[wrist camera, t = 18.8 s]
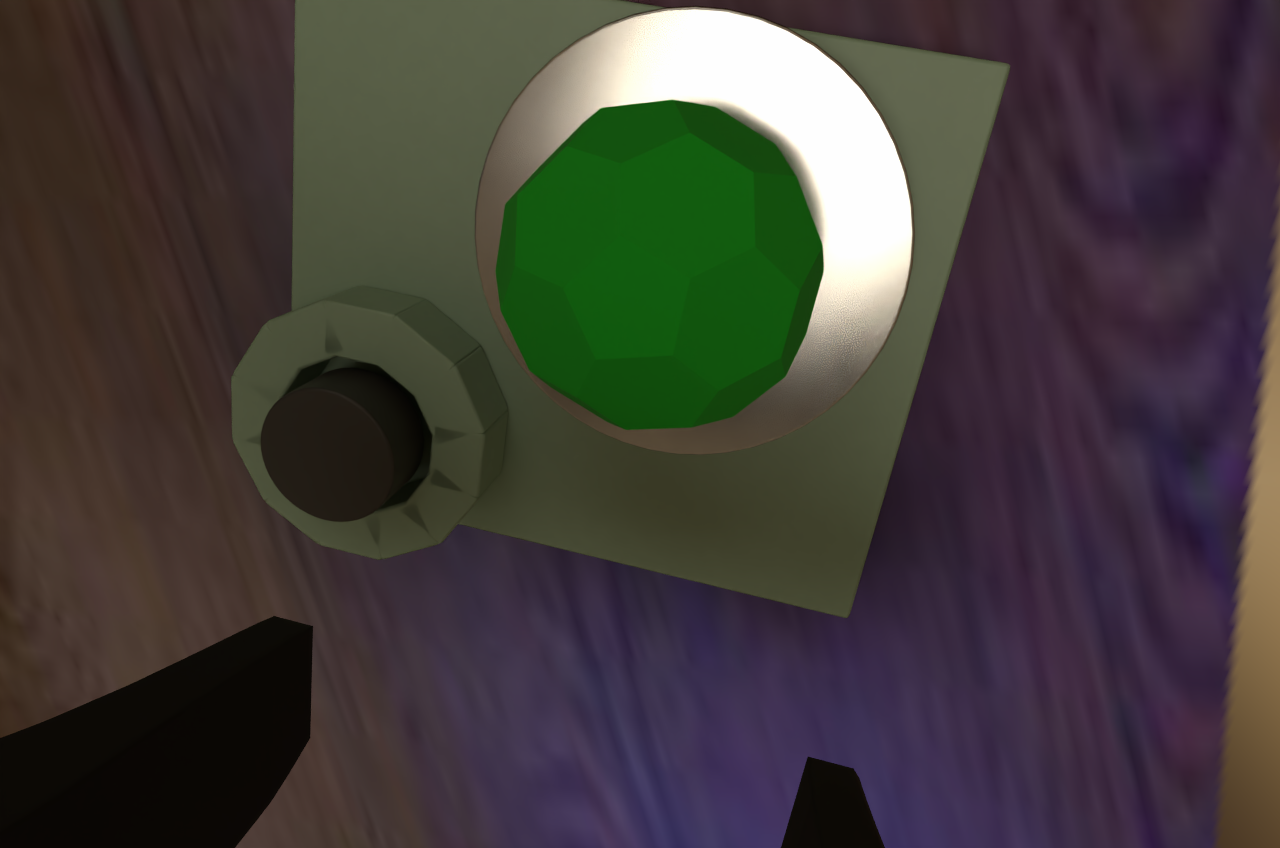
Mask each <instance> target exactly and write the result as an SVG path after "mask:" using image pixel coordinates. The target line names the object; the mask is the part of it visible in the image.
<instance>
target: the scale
mask: <svg viewBox="0 0 1280 848" xmlns="http://www.w3.org/2000/svg"><path fill="white" fill-rule="evenodd" d="M661 8H666V7H659V6H653V5H647V4H641V3H635V2H629V1H623V0H295V58H294V144H293V230H292V311H291V312H288V313H286V314H283V315H281V316H278V317H276V318H273V319H271V320H269V321H268V322H267V323H266V324H264V325H263V327H262V328H261V330H260V331H259V333H258V334H257V336H256V338H255V339H254V341H253V342H252V344H251V346H250V347H249V349H248V350H247V352H246V354H245V355H244V357H243V358H242V360H241V361H240V363H239V365H238V366H237V368H236V369H235V371H234V374H233V375H232V377H231V393H232V439H233V440H234V441H233V442H234V445H235V446H236V448H237V450H238V452H239V454H240V456H241V458H242V460H243V462H244V464H245V466H246V468H247V469H248V471H249V473H250V475H251V477H252V479H253V481H254V483H255V485H256V487H257V489H258V490H259V492H260V494H261V496H262V498H263V499H264V500H266V501H265V502H266V503H267V504H268V505H269V506H271V507H272V508H273V509H274V510H276V511H277V512H278V513H279V514H281V515H282V516H283V517H284V518H286V519H287V520H288V521H289V522H291V523H292V524H293V525H294V526H296V527H297V528H298V529H299V530H301V531H302V532H303V533H304V534H306V535H307V536H308V537H309V538H311V539H312V540H313V541H314V542H316V543H319V545H322V546H326V547H330V548H334V549H338V550H342V551H346V552H350V553H354V554H358V555H362V556H366V557H370V558H374V559H378V560H381V559H386V558H390V557H394V556H397V555H401V554H405V553H408V552H412V551H416V550H419V549H423V548H427V547H430V546H434V545H438V544H439V543H442V542H443V541H444V540H445V539H446V537H447V536H448V535H449V534H450V533H451V532H452V530H453V529H454V528H455V527H456V526H457V525H458V524H461V525H465V526H469V527H473V528H477V529H482V530H486V531H490V532H494V533H498V534H502V535H506V536H510V537H514V538H519V539H523V540H527V541H531V542H535V543H539V544H543V545H547V546H551V547H556V548H560V549H564V550H568V551H572V552H576V553H580V554H584V555H589V556H593V557H597V558H601V559H605V560H609V561H613V562H617V563H621V564H626V565H630V566H634V567H638V568H642V569H646V570H650V571H654V572H658V573H663V574H667V575H671V576H675V577H679V578H683V579H687V580H691V581H696V582H700V583H704V584H708V585H712V586H716V587H720V588H724V589H728V590H733V591H737V592H741V593H745V594H749V595H753V596H757V597H761V598H765V599H770V600H774V601H778V602H782V603H786V604H790V605H794V606H798V607H802V608H807V609H811V610H815V611H819V612H823V613H827V614H831V615H835V616H840V617H844V618H848V616H849V615H850V612H851V608H852V605H853V601H854V598H855V595H856V591H857V588H858V584H859V581H860V578H861V574H862V571H863V567H864V564H865V561H866V557H867V554H868V550H869V547H870V544H871V540H872V537H873V533H874V530H875V527H876V523H877V520H878V516H879V513H880V510H881V506H882V503H883V499H884V496H885V493H886V489H887V486H888V482H889V479H890V476H891V472H892V469H893V465H894V462H895V459H896V455H897V452H898V448H899V445H900V442H901V438H902V435H903V431H904V428H905V425H906V421H907V418H908V414H909V411H910V408H911V404H912V401H913V397H914V394H915V391H916V387H917V384H918V380H919V377H920V374H921V370H922V367H923V363H924V360H925V357H926V353H927V350H928V346H929V343H930V340H931V336H932V333H933V329H934V326H935V323H936V319H937V316H938V312H939V309H940V306H941V302H942V299H943V295H944V292H945V289H946V285H947V282H948V278H949V275H950V272H951V268H952V265H953V261H954V258H955V255H956V251H957V248H958V244H959V241H960V238H961V234H962V231H963V227H964V224H965V221H966V217H967V214H968V210H969V207H970V204H971V200H972V197H973V193H974V190H975V187H976V183H977V180H978V176H979V173H980V170H981V166H982V163H983V159H984V156H985V153H986V149H987V146H988V142H989V139H990V136H991V132H992V129H993V125H994V122H995V119H996V115H997V112H998V108H999V105H1000V102H1001V98H1002V95H1003V91H1004V88H1005V85H1006V81H1007V78H1008V74H1009V71H1010V65H1008V64H1007V63H1002V62H996V61H990V60H984V59H978V58H971V57H965V56H959V55H953V54H947V53H941V52H935V51H929V50H922V49H916V48H910V47H904V46H898V45H892V44H886V43H880V42H874V41H867V40H861V39H855V38H849V37H843V36H837V35H831V34H825V33H818V32H812V31H806V30H800V29H794V28H789V29H791V30H793V31H794V32H796V33H798V34H800V35H801V36H803V37H805V38H807V39H808V40H810V41H812V42H814V43H815V44H817V45H818V46H819V47H820V48H822V49H823V50H824V51H826V52H827V53H828V54H829V55H831V56H832V57H833V58H834V59H836V60H837V61H838V62H839V63H841V64H842V65H843V66H844V67H845V68H846V69H847V71H848V72H849V73H850V74H851V75H852V76H853V77H854V78H855V79H856V80H857V81H858V82H859V83H860V84H861V85H862V86H863V88H864V89H865V90H866V92H867V93H868V95H869V96H870V97H871V99H872V100H873V102H874V103H875V104H876V106H877V107H878V109H879V110H880V111H881V113H882V115H883V117H884V119H885V120H886V122H887V124H888V126H889V128H890V130H891V132H892V134H893V136H894V138H895V140H896V142H897V145H898V148H899V150H900V153H901V156H902V159H903V162H904V165H905V167H906V170H907V174H908V179H909V184H910V189H911V194H912V199H913V207H914V223H915V243H914V257H913V266H912V271H911V276H910V281H909V285H908V290H907V294H906V297H905V300H904V303H903V306H902V309H901V312H900V314H899V317H898V320H897V322H896V324H895V326H894V328H893V330H892V332H891V334H890V336H889V338H888V340H887V342H886V344H885V346H884V348H883V349H882V351H881V352H880V354H879V355H878V357H877V358H876V360H875V361H874V363H873V364H872V366H871V367H870V368H869V370H868V371H867V373H866V374H865V375H864V376H863V377H862V378H861V379H860V380H859V381H858V383H857V384H856V385H855V386H854V387H853V388H852V389H851V390H850V392H849V393H848V394H846V395H845V396H844V397H843V398H842V399H841V400H839V401H838V402H837V403H836V404H835V405H834V406H832V407H831V408H830V409H829V410H828V411H827V412H825V413H823V414H822V415H820V416H819V417H817V418H816V419H814V420H813V421H811V422H810V423H808V424H807V425H805V426H804V427H802V428H800V429H798V430H796V431H794V432H792V433H789V434H787V435H785V436H783V437H781V438H779V439H776V440H773V441H770V442H768V443H765V444H762V445H759V446H756V447H752V448H748V449H743V450H738V451H733V452H729V453H718V454H706V455H692V454H673V453H667V452H661V451H655V450H649V449H645V448H642V447H638V446H635V445H631V444H628V443H624V442H622V441H619V440H617V439H615V438H612V437H610V436H608V435H605V434H603V433H601V432H599V431H597V430H595V429H593V428H592V427H590V426H588V425H586V424H585V423H583V422H581V421H579V420H578V419H576V418H575V417H573V416H572V415H571V414H569V413H568V412H567V411H565V410H564V409H563V408H561V407H560V406H559V405H557V404H556V403H555V402H554V401H553V400H552V399H550V398H549V397H548V396H547V395H546V394H545V393H544V392H543V391H542V390H541V389H540V388H539V387H538V386H537V385H536V384H535V383H534V382H533V381H532V379H531V378H530V377H529V376H528V375H527V373H526V372H525V371H524V370H523V369H522V367H521V366H520V365H519V364H518V362H517V361H516V359H515V357H514V356H513V354H512V353H511V351H510V350H509V348H508V347H507V345H506V344H505V342H504V340H503V338H502V336H501V334H500V332H499V330H498V328H497V326H496V324H495V322H494V320H493V318H492V315H491V312H490V309H489V307H488V304H487V301H486V298H485V295H484V292H483V288H482V284H481V279H480V275H479V270H478V266H477V257H476V247H475V207H476V200H477V193H478V187H479V180H480V177H481V173H482V170H483V166H484V163H485V159H486V156H487V152H488V150H489V147H490V145H491V143H492V140H493V138H494V136H495V133H496V131H497V129H498V126H499V125H500V123H501V121H502V120H503V118H504V116H505V115H506V113H507V111H508V109H509V108H510V106H511V104H512V103H513V101H514V100H515V98H516V97H517V96H518V95H519V93H520V92H521V91H522V90H523V88H524V87H525V86H526V84H527V83H528V82H529V81H530V79H531V78H532V77H533V76H534V75H535V74H536V73H537V72H538V71H539V70H540V69H541V68H542V67H543V66H544V65H545V64H546V63H548V62H549V61H550V60H551V59H552V58H553V57H554V56H555V55H556V54H558V53H559V52H561V51H562V50H563V49H565V48H566V47H568V46H569V45H570V44H572V43H573V42H574V41H576V40H577V39H579V38H580V37H582V36H584V35H586V34H588V33H590V32H592V31H594V30H596V29H597V28H599V27H601V26H603V25H605V24H608V23H610V22H613V21H616V20H619V19H621V18H624V17H627V16H630V15H633V14H636V13H641V12H646V11H651V10H656V9H661ZM787 28H788V27H787ZM338 368H359V369H365V370H368V371H372V372H374V373H377V374H379V375H381V376H383V377H385V378H386V379H388V380H389V381H391V382H392V383H394V384H395V385H396V386H397V387H398V388H399V389H400V390H401V391H403V393H404V394H405V395H406V396H407V397H408V398H409V400H410V401H411V403H412V404H413V406H414V408H415V410H416V412H417V413H418V416H419V418H420V421H421V425H422V429H423V435H424V449H423V456H422V459H421V463H420V465H419V467H418V469H417V471H416V472H415V474H414V475H413V476H412V478H411V479H410V480H409V481H408V482H407V483H406V484H405V485H404V486H402V487H401V488H400V489H399V490H398V491H397V492H396V493H395V494H394V495H393V496H392V497H391V498H389V499H388V500H387V501H386V502H385V503H384V504H383V505H382V506H381V507H380V508H379V509H377V510H376V511H375V512H374V513H372V514H370V515H368V516H367V517H364V518H361V519H359V520H354V521H347V522H334V521H328V520H323V519H320V518H317V517H314V516H312V515H310V514H307V513H306V512H304V511H302V510H300V509H299V508H298V507H296V506H295V505H293V504H292V503H291V502H290V501H289V500H288V499H287V498H285V496H284V495H283V494H282V493H281V492H280V491H279V490H278V488H277V487H276V486H275V484H274V483H273V481H272V479H271V478H270V476H269V474H268V472H267V469H266V467H265V464H264V461H263V457H262V452H261V431H262V426H263V423H264V420H265V418H266V416H267V414H268V412H269V410H270V409H271V407H272V406H273V405H274V404H275V403H276V402H277V401H278V400H279V399H280V398H281V397H283V396H284V395H286V394H288V393H289V392H291V391H293V390H295V389H297V388H298V387H300V386H302V385H304V384H306V383H307V382H309V381H311V380H313V379H315V378H316V377H318V376H320V375H322V374H324V373H326V372H328V371H331V370H334V369H338Z"/></svg>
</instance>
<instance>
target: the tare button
mask: <svg viewBox="0 0 1280 848" xmlns="http://www.w3.org/2000/svg"><path fill="white" fill-rule="evenodd" d="M423 449H424V435H423V429H422V425H421V421H420V418H419V416H418V413H417V412H416V410H415V408H414V406H413V404H412V403H411V401H410V400H409V398H408V397H407V396H406V395H405V394H404V393H403V391H401V390H400V389H399V388H398V387H397V386H396V385H395V384H394V383H392V382H391V381H389V380H388V379H386V378H385V377H383V376H381V375H379V374H377V373H374V372H372V371H368V370H365V369H359V368H338V369H334V370H331V371H328V372H326V373H324V374H322V375H320V376H318V377H316V378H315V379H313V380H311V381H309V382H307V383H306V384H304V385H302V386H300V387H298V388H297V389H295V390H293V391H291V392H289V393H288V394H286V395H284V396H283V397H281V398H280V399H279V400H278V401H277V402H276V403H275V404H274V405H273V406H272V407H271V409H270V410H269V412H268V414H267V416H266V418H265V420H264V423H263V426H262V431H261V452H262V457H263V461H264V464H265V467H266V469H267V472H268V474H269V476H270V478H271V479H272V481H273V483H274V484H275V486H276V487H277V488H278V490H279V491H280V492H281V493H282V494H283V495H284V496H285V498H287V499H288V500H289V501H290V502H291V503H292V504H293V505H295V506H296V507H298V508H299V509H300V510H302V511H304V512H306V513H307V514H310V515H312V516H314V517H317V518H320V519H323V520H328V521H334V522H347V521H354V520H359V519H361V518H364V517H367V516H368V515H370V514H372V513H374V512H375V511H376V510H377V509H379V508H380V507H381V506H382V505H383V504H384V503H385V502H386V501H387V500H388V499H389V498H391V497H392V496H393V495H394V494H395V493H396V492H397V491H398V490H399V489H400V488H401V487H402V486H404V485H405V484H406V483H407V482H408V481H409V480H410V479H411V478H412V476H413V475H414V474H415V472H416V471H417V469H418V467H419V465H420V463H421V459H422V456H423Z"/></svg>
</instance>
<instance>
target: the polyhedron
mask: <svg viewBox="0 0 1280 848" xmlns="http://www.w3.org/2000/svg"><path fill="white" fill-rule="evenodd" d="M495 272H496V280H497V287H498V295H499V303H500V311H501V313H502V315H503V317H504V319H505V321H506V323H507V325H508V327H509V329H510V331H511V333H512V336H513V338H514V340H515V342H516V344H517V346H518V348H519V350H520V352H521V354H522V356H523V358H524V360H525V362H526V365H527V367H528V369H529V371H530V372H532V373H533V374H534V375H535V376H537V377H538V378H539V379H541V380H542V381H543V382H545V383H546V384H547V385H548V386H550V387H551V388H552V389H554V390H556V391H557V392H559V393H561V394H562V395H564V396H565V397H567V398H569V399H570V400H572V401H574V402H575V403H577V404H579V405H580V406H582V407H583V408H585V409H587V410H588V411H590V412H592V413H593V414H595V415H596V416H598V417H600V418H601V419H603V420H605V421H606V422H608V423H611V424H613V425H615V426H618V427H620V428H622V429H625V430H640V429H669V428H692V427H696V426H700V425H704V424H708V423H712V422H716V421H720V420H723V419H727V418H731V417H734V416H735V415H736V414H738V413H739V412H740V411H742V410H743V409H744V408H746V407H747V406H748V405H749V404H751V403H752V402H753V401H755V400H756V399H757V398H759V397H760V396H761V395H763V394H764V393H765V392H766V391H768V390H769V389H770V388H772V387H773V386H774V385H776V384H777V383H778V382H780V381H781V380H782V379H783V378H785V377H786V375H787V373H788V371H789V369H790V367H791V365H792V363H793V361H794V358H795V356H796V354H797V352H798V350H799V348H800V346H801V344H802V342H803V340H804V338H805V336H806V333H807V329H808V326H809V322H810V319H811V315H812V312H813V308H814V305H815V301H816V298H817V294H818V291H819V287H820V284H821V280H822V277H823V273H824V258H823V245H822V242H821V239H820V237H819V234H818V231H817V229H816V226H815V223H814V221H813V218H812V215H811V213H810V210H809V208H808V205H807V202H806V200H805V197H804V194H803V192H802V189H801V186H800V184H799V181H798V178H797V176H796V174H795V173H794V171H793V170H792V168H791V167H790V165H789V164H788V162H787V161H786V159H785V157H784V156H783V154H782V153H781V151H780V150H779V148H778V147H777V145H776V144H775V143H773V142H772V141H770V140H768V139H767V138H765V137H763V136H762V135H760V134H759V133H757V132H755V131H754V130H752V129H751V128H749V127H747V126H746V125H744V124H743V123H741V122H739V121H738V120H736V119H735V118H733V117H731V116H730V115H728V114H727V113H725V112H723V111H722V110H720V109H718V108H717V107H714V106H708V105H702V104H697V103H691V102H685V101H679V100H674V99H672V100H664V101H655V102H647V103H638V104H630V105H621V106H613V107H604V108H600V109H599V110H598V111H597V112H595V113H594V114H593V115H592V116H590V117H589V118H588V119H587V120H586V121H584V122H583V123H582V124H581V125H580V126H579V127H578V128H577V129H576V130H575V131H574V132H573V133H572V134H571V135H570V136H569V137H568V138H567V139H566V140H565V141H564V142H563V143H562V144H561V145H560V146H559V147H558V148H557V149H556V150H555V151H554V152H553V153H552V154H551V155H550V156H549V157H548V158H547V159H546V160H545V161H544V162H543V163H542V164H541V165H540V166H539V167H538V168H537V170H536V171H535V172H534V173H533V174H532V175H531V176H530V177H529V178H528V179H527V180H526V182H525V183H524V184H523V185H522V186H521V187H520V188H519V189H518V190H517V191H516V193H515V194H514V195H513V196H512V197H511V198H510V199H509V200H508V201H507V202H506V204H505V208H504V215H503V222H502V229H501V236H500V243H499V250H498V256H497V263H496V270H495Z"/></svg>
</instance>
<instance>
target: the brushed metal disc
mask: <svg viewBox="0 0 1280 848" xmlns="http://www.w3.org/2000/svg"><path fill="white" fill-rule="evenodd" d="M672 99H674V100H679V101H685V102H691V103H697V104H702V105H708V106H714V107H717V108H718V109H720V110H722V111H723V112H725V113H727V114H728V115H730V116H731V117H733V118H735V119H736V120H738V121H739V122H741V123H743V124H744V125H746V126H747V127H749V128H751V129H752V130H754V131H755V132H757V133H759V134H760V135H762V136H763V137H765V138H767V139H768V140H770V141H772V142H773V143H775V144H776V145H777V147H778V148H779V150H780V151H781V153H782V154H783V156H784V157H785V159H786V161H787V162H788V164H789V165H790V167H791V168H792V170H793V171H794V173H795V174H796V176H797V178H798V181H799V184H800V186H801V189H802V192H803V194H804V197H805V200H806V202H807V205H808V208H809V210H810V213H811V215H812V218H813V221H814V223H815V226H816V229H817V231H818V234H819V237H820V239H821V242H822V245H823V258H824V273H823V277H822V280H821V284H820V287H819V291H818V294H817V298H816V301H815V305H814V308H813V312H812V315H811V319H810V322H809V326H808V329H807V333H806V336H805V338H804V340H803V342H802V344H801V346H800V348H799V350H798V352H797V354H796V356H795V358H794V361H793V363H792V365H791V367H790V369H789V371H788V373H787V375H786V377H785V378H783V379H782V380H781V381H780V382H778V383H777V384H776V385H774V386H773V387H772V388H770V389H769V390H768V391H766V392H765V393H764V394H763V395H761V396H760V397H759V398H757V399H756V400H755V401H753V402H752V403H751V404H749V405H748V406H747V407H746V408H744V409H743V410H742V411H740V412H739V413H738V414H736V415H735V416H734V417H731V418H727V419H723V420H720V421H716V422H712V423H708V424H704V425H700V426H696V427H692V428H669V429H640V430H625V429H622V428H620V427H618V426H615V425H613V424H611V423H608V422H606V421H605V420H603V419H601V418H600V417H598V416H596V415H595V414H593V413H592V412H590V411H588V410H587V409H585V408H583V407H582V406H580V405H579V404H577V403H575V402H574V401H572V400H570V399H569V398H567V397H565V396H564V395H562V394H561V393H559V392H557V391H556V390H554V389H552V388H551V387H550V386H548V385H547V384H546V383H545V382H543V381H542V380H541V379H539V378H538V377H537V376H535V375H534V374H533V373H532V372H530V371H529V369H528V367H527V365H526V362H525V360H524V358H523V356H522V354H521V352H520V350H519V348H518V346H517V344H516V342H515V340H514V338H513V336H512V333H511V331H510V329H509V327H508V325H507V323H506V321H505V319H504V317H503V315H502V313H501V311H500V303H499V295H498V287H497V280H496V272H495V270H496V263H497V256H498V250H499V243H500V236H501V229H502V222H503V215H504V208H505V204H506V202H507V201H508V200H509V199H510V198H511V197H512V196H513V195H514V194H515V193H516V191H517V190H518V189H519V188H520V187H521V186H522V185H523V184H524V183H525V182H526V180H527V179H528V178H529V177H530V176H531V175H532V174H533V173H534V172H535V171H536V170H537V168H538V167H539V166H540V165H541V164H542V163H543V162H544V161H545V160H546V159H547V158H548V157H549V156H550V155H551V154H552V153H553V152H554V151H555V150H556V149H557V148H558V147H559V146H560V145H561V144H562V143H563V142H564V141H565V140H566V139H567V138H568V137H569V136H570V135H571V134H572V133H573V132H574V131H575V130H576V129H577V128H578V127H579V126H580V125H581V124H582V123H583V122H584V121H586V120H587V119H588V118H589V117H590V116H592V115H593V114H594V113H595V112H597V111H598V110H599V109H600V108H604V107H613V106H621V105H630V104H638V103H647V102H655V101H664V100H672ZM914 243H915V223H914V207H913V199H912V194H911V189H910V184H909V179H908V174H907V170H906V167H905V165H904V162H903V159H902V156H901V153H900V150H899V148H898V145H897V142H896V140H895V138H894V136H893V134H892V132H891V130H890V128H889V126H888V124H887V122H886V120H885V119H884V117H883V115H882V113H881V111H880V110H879V109H878V107H877V106H876V104H875V103H874V102H873V100H872V99H871V97H870V96H869V95H868V93H867V92H866V90H865V89H864V88H863V86H862V85H861V84H860V83H859V82H858V81H857V80H856V79H855V78H854V77H853V76H852V75H851V74H850V73H849V72H848V71H847V69H846V68H845V67H844V66H843V65H842V64H841V63H839V62H838V61H837V60H836V59H834V58H833V57H832V56H831V55H829V54H828V53H827V52H826V51H824V50H823V49H822V48H820V47H819V46H818V45H817V44H815V43H814V42H812V41H810V40H808V39H807V38H805V37H803V36H801V35H800V34H798V33H796V32H794V31H793V30H791V29H789V28H787V27H785V26H782V25H780V24H777V23H775V22H772V21H770V20H767V19H765V18H762V17H760V16H756V15H752V14H748V13H744V12H740V11H735V10H731V9H726V8H715V7H704V6H685V7H667V8H661V9H656V10H651V11H646V12H641V13H636V14H633V15H630V16H627V17H624V18H621V19H619V20H616V21H613V22H610V23H608V24H605V25H603V26H601V27H599V28H597V29H596V30H594V31H592V32H590V33H588V34H586V35H584V36H582V37H580V38H579V39H577V40H576V41H574V42H573V43H572V44H570V45H569V46H568V47H566V48H565V49H563V50H562V51H561V52H559V53H558V54H556V55H555V56H554V57H553V58H552V59H551V60H550V61H549V62H548V63H546V64H545V65H544V66H543V67H542V68H541V69H540V70H539V71H538V72H537V73H536V74H535V75H534V76H533V77H532V78H531V79H530V81H529V82H528V83H527V84H526V86H525V87H524V88H523V90H522V91H521V92H520V93H519V95H518V96H517V97H516V98H515V100H514V101H513V103H512V104H511V106H510V108H509V109H508V111H507V113H506V115H505V116H504V118H503V120H502V121H501V123H500V125H499V126H498V129H497V131H496V133H495V136H494V138H493V140H492V143H491V145H490V147H489V150H488V152H487V156H486V159H485V163H484V166H483V170H482V173H481V177H480V180H479V187H478V193H477V200H476V207H475V247H476V257H477V266H478V270H479V275H480V279H481V284H482V288H483V292H484V295H485V298H486V301H487V304H488V307H489V309H490V312H491V315H492V318H493V320H494V322H495V324H496V326H497V328H498V330H499V332H500V334H501V336H502V338H503V340H504V342H505V344H506V345H507V347H508V348H509V350H510V351H511V353H512V354H513V356H514V357H515V359H516V361H517V362H518V364H519V365H520V366H521V367H522V369H523V370H524V371H525V372H526V373H527V375H528V376H529V377H530V378H531V379H532V381H533V382H534V383H535V384H536V385H537V386H538V387H539V388H540V389H541V390H542V391H543V392H544V393H545V394H546V395H547V396H548V397H549V398H550V399H552V400H553V401H554V402H555V403H556V404H557V405H559V406H560V407H561V408H563V409H564V410H565V411H567V412H568V413H569V414H571V415H572V416H573V417H575V418H576V419H578V420H579V421H581V422H583V423H585V424H586V425H588V426H590V427H592V428H593V429H595V430H597V431H599V432H601V433H603V434H605V435H608V436H610V437H612V438H615V439H617V440H619V441H622V442H624V443H628V444H631V445H635V446H638V447H642V448H645V449H649V450H655V451H661V452H667V453H673V454H692V455H706V454H718V453H729V452H733V451H738V450H743V449H748V448H752V447H756V446H759V445H762V444H765V443H768V442H770V441H773V440H776V439H779V438H781V437H783V436H785V435H787V434H789V433H792V432H794V431H796V430H798V429H800V428H802V427H804V426H805V425H807V424H808V423H810V422H811V421H813V420H814V419H816V418H817V417H819V416H820V415H822V414H823V413H825V412H827V411H828V410H829V409H830V408H831V407H832V406H834V405H835V404H836V403H837V402H838V401H839V400H841V399H842V398H843V397H844V396H845V395H846V394H848V393H849V392H850V390H851V389H852V388H853V387H854V386H855V385H856V384H857V383H858V381H859V380H860V379H861V378H862V377H863V376H864V375H865V374H866V373H867V371H868V370H869V368H870V367H871V366H872V364H873V363H874V361H875V360H876V358H877V357H878V355H879V354H880V352H881V351H882V349H883V348H884V346H885V344H886V342H887V340H888V338H889V336H890V334H891V332H892V330H893V328H894V326H895V324H896V322H897V320H898V317H899V314H900V312H901V309H902V306H903V303H904V300H905V297H906V294H907V290H908V285H909V281H910V276H911V271H912V266H913V257H914Z"/></svg>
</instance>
